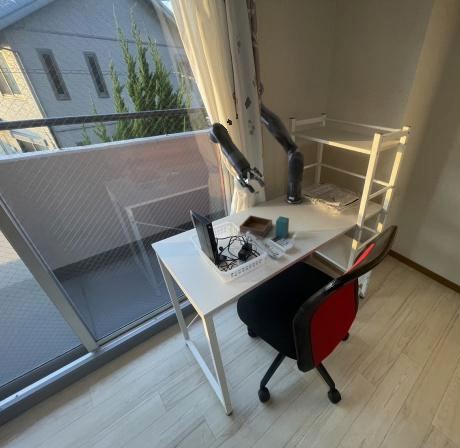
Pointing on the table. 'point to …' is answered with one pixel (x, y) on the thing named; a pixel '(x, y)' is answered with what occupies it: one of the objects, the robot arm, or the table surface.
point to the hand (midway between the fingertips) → (258, 189)
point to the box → (256, 226)
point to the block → (282, 227)
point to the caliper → (255, 240)
